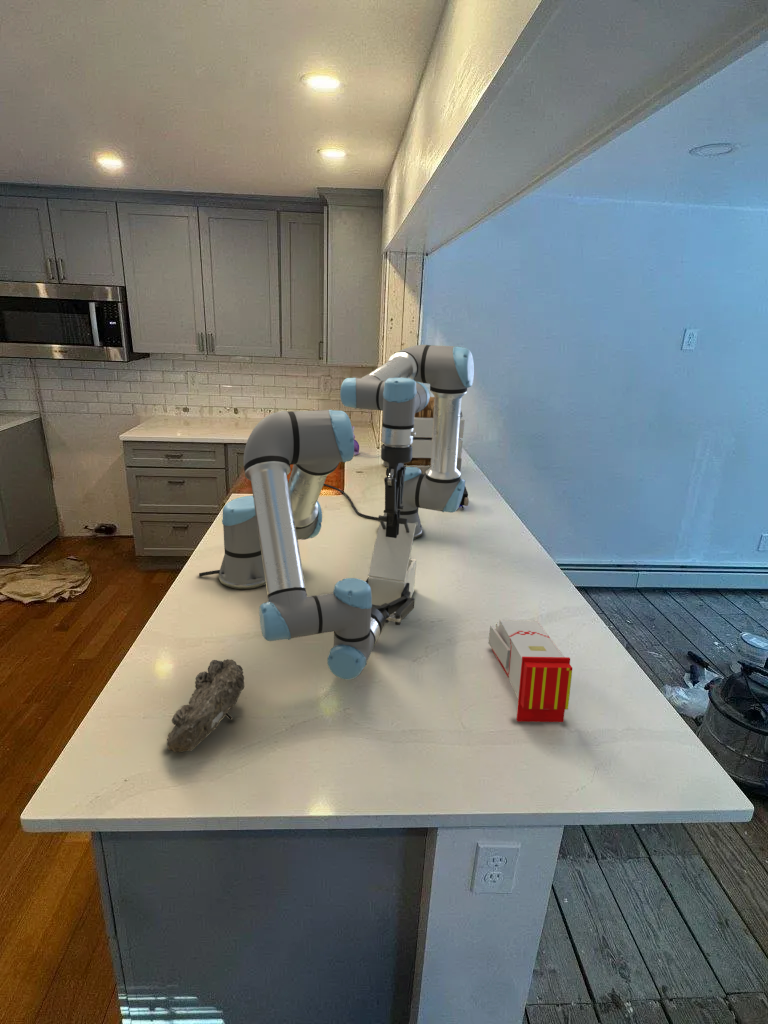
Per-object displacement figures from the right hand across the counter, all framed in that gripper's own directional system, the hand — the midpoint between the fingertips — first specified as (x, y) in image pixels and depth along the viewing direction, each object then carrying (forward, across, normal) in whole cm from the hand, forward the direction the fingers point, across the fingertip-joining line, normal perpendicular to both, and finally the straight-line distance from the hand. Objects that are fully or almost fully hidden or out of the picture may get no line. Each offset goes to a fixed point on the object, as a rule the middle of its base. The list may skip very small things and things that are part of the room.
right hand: (392, 535), depth 144 cm
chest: (+21, +4, 0) cm, 21 cm away
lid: (+5, +2, 0) cm, 5 cm away
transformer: (+20, +132, +17) cm, 134 cm away
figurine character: (+20, +90, -7) cm, 92 cm away
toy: (+21, -22, -35) cm, 46 cm away
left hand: (+13, -1, 0) cm, 13 cm away
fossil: (+21, -52, +22) cm, 60 cm away
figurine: (+20, +154, +59) cm, 166 cm away
